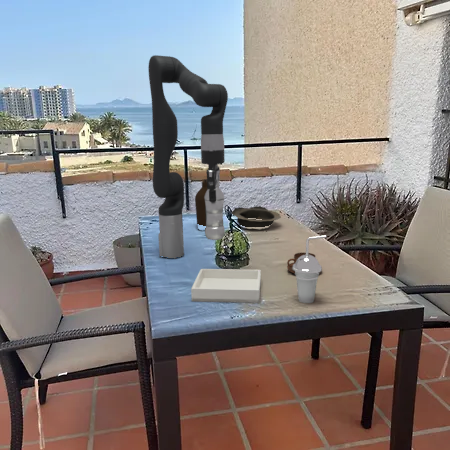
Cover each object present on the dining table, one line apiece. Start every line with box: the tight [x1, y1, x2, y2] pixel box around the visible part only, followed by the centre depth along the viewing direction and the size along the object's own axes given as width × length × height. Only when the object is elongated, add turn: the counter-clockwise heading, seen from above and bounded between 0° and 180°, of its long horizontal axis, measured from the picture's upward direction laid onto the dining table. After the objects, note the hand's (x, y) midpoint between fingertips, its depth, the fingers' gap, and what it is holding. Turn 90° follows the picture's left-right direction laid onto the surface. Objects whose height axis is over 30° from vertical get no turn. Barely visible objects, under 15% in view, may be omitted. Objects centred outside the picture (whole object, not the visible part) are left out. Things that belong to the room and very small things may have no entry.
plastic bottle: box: [204, 180, 226, 241], centre depth 143 cm, size 6×7×20 cm
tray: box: [190, 268, 262, 304], centre depth 135 cm, size 20×18×4 cm
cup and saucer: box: [286, 252, 316, 275], centre depth 151 cm, size 12×12×6 cm
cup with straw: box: [292, 235, 327, 304], centre depth 125 cm, size 8×9×20 cm
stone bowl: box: [231, 205, 282, 227], centre depth 218 cm, size 25×25×9 cm
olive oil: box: [194, 178, 208, 226], centre depth 214 cm, size 11×11×25 cm
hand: (214, 199), depth 142 cm, fingers closed on plastic bottle, 6 cm apart
